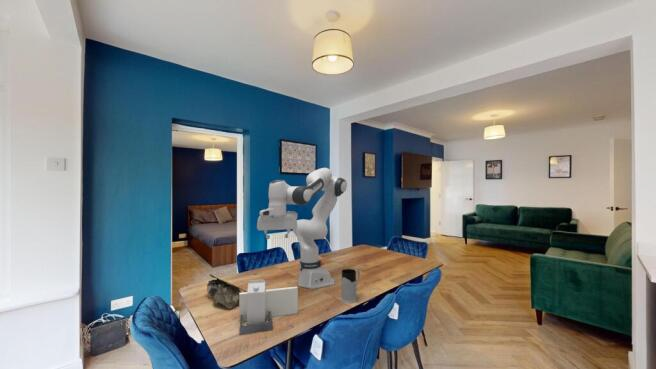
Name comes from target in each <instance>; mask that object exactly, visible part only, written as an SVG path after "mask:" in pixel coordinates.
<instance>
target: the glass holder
mask: <svg viewBox="0 0 656 369" xmlns="http://www.w3.org/2000/svg"><path fill="white" fill-rule="evenodd" d="M340 278H341V279H340V280H341V286H340V287H341V288H340V289H341V292H340V293H341V295H340V301H341V302H342V303H345V304H353V303H356V302H357V301H358V299H357V286H358V284H359V280H360V270H359V269H353V268H352V269H351V268H345V269H342V270H341V277H340Z"/></svg>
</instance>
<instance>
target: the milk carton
mask: <svg viewBox="0 0 656 369" xmlns="http://www.w3.org/2000/svg"><path fill="white" fill-rule="evenodd" d="M266 290H267V284H266V279H251V280H248V283H247V290H246V291H247V321H246V325H251V324H258V323H265V322H267V320H266V319H267V318H266Z"/></svg>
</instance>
